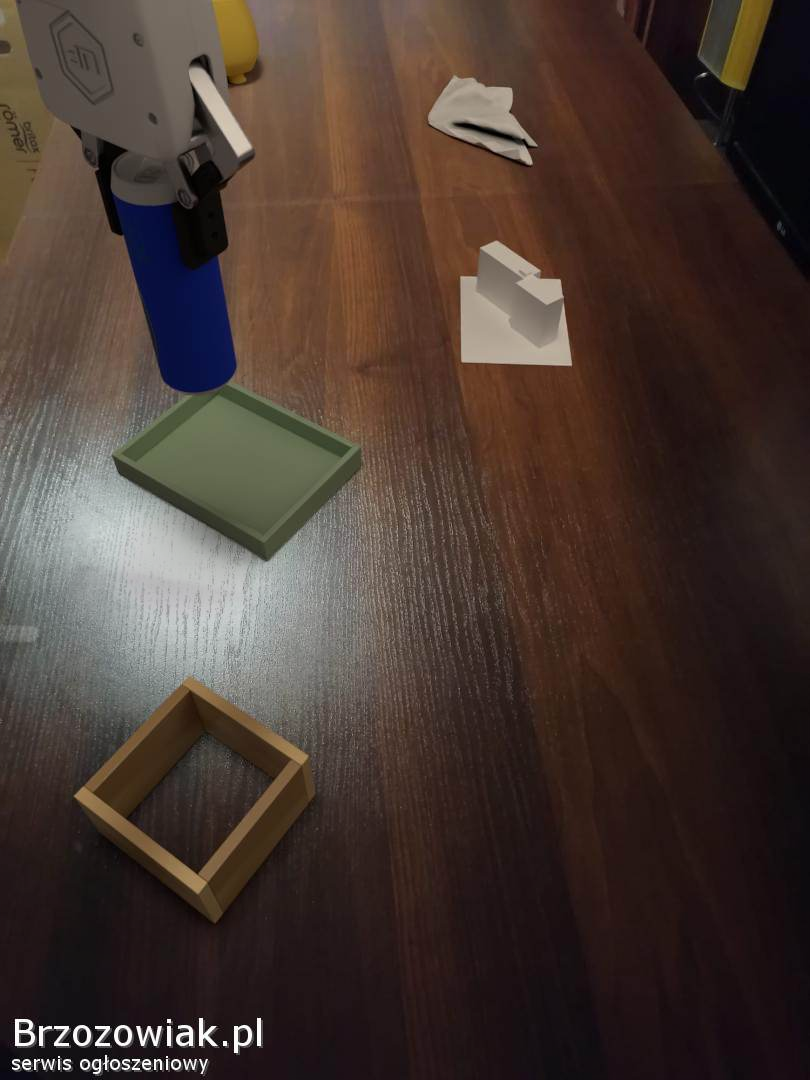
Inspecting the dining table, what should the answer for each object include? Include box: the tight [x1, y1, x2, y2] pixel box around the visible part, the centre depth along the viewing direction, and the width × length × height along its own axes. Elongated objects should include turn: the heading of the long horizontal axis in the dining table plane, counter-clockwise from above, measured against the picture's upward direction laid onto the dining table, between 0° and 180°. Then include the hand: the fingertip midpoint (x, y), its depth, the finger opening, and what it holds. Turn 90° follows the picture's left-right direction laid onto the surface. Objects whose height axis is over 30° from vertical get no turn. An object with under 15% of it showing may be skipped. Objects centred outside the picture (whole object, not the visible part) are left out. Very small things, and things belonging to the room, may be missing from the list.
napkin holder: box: [459, 240, 573, 367], centre depth 89 cm, size 15×11×6 cm
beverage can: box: [111, 151, 238, 396], centre depth 54 cm, size 5×5×15 cm
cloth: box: [427, 74, 539, 167], centre depth 118 cm, size 26×14×2 cm, turn 6°
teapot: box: [212, 0, 260, 85], centre depth 123 cm, size 13×20×12 cm
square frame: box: [73, 675, 316, 925], centre depth 55 cm, size 10×10×6 cm
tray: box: [111, 380, 363, 562], centre depth 76 cm, size 17×13×2 cm
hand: (169, 238), depth 51 cm, fingers closed on beverage can, 5 cm apart
